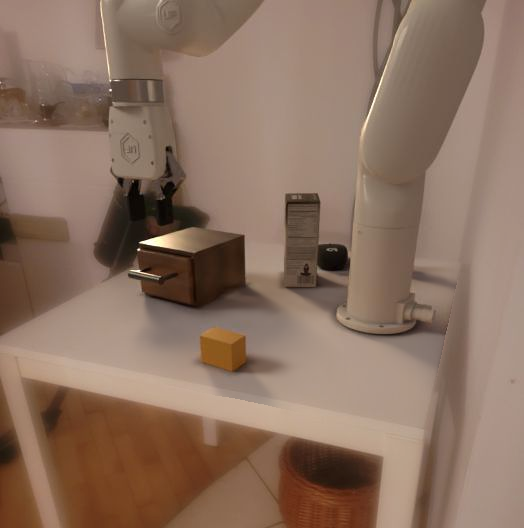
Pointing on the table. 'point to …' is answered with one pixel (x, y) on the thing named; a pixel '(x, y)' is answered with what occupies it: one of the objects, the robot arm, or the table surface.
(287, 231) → the coffee box
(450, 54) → the robot arm
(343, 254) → the computer mouse
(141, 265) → the drawer
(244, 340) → the orange block
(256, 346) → the table surface
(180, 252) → the cabinet
